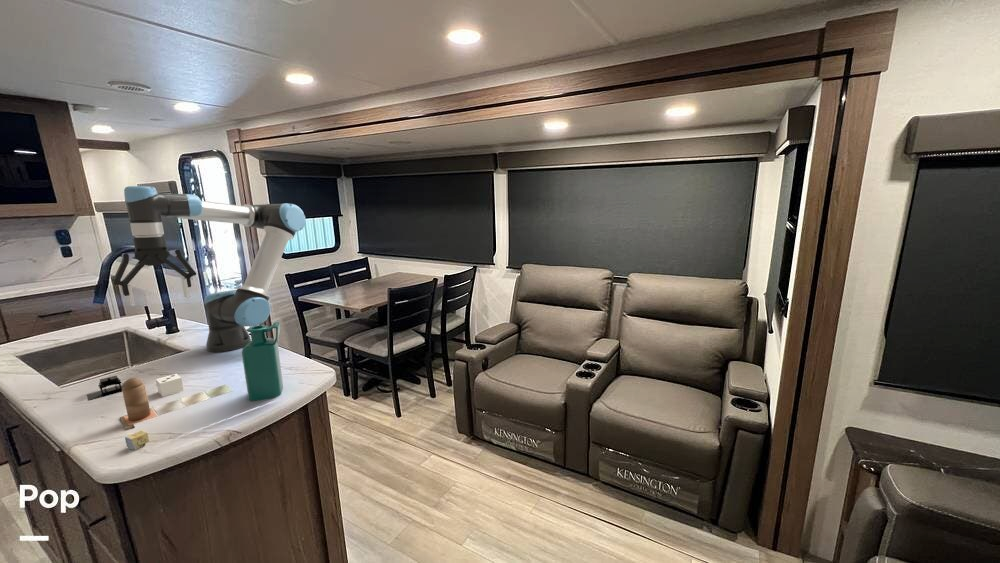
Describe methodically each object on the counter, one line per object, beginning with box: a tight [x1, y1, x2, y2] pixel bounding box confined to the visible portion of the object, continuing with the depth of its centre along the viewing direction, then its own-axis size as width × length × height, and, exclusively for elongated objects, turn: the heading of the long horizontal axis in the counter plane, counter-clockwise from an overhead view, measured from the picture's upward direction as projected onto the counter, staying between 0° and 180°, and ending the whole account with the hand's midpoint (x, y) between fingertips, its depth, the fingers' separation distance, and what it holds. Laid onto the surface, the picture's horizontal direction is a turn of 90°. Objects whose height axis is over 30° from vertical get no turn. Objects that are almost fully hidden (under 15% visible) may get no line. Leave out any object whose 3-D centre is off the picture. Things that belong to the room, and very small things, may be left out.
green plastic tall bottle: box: [241, 321, 284, 402], centre depth 113 cm, size 10×8×22 cm
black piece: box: [86, 375, 124, 401], centre depth 119 cm, size 13×8×5 cm, turn 141°
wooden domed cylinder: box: [121, 377, 151, 421], centre depth 102 cm, size 4×4×11 cm
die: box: [155, 373, 184, 398], centre depth 117 cm, size 5×5×5 cm
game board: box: [119, 384, 234, 431], centre depth 110 cm, size 25×9×1 cm, turn 142°
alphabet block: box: [124, 430, 150, 451], centre depth 91 cm, size 3×3×3 cm
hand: (161, 301), depth 124 cm, fingers open, 13 cm apart
